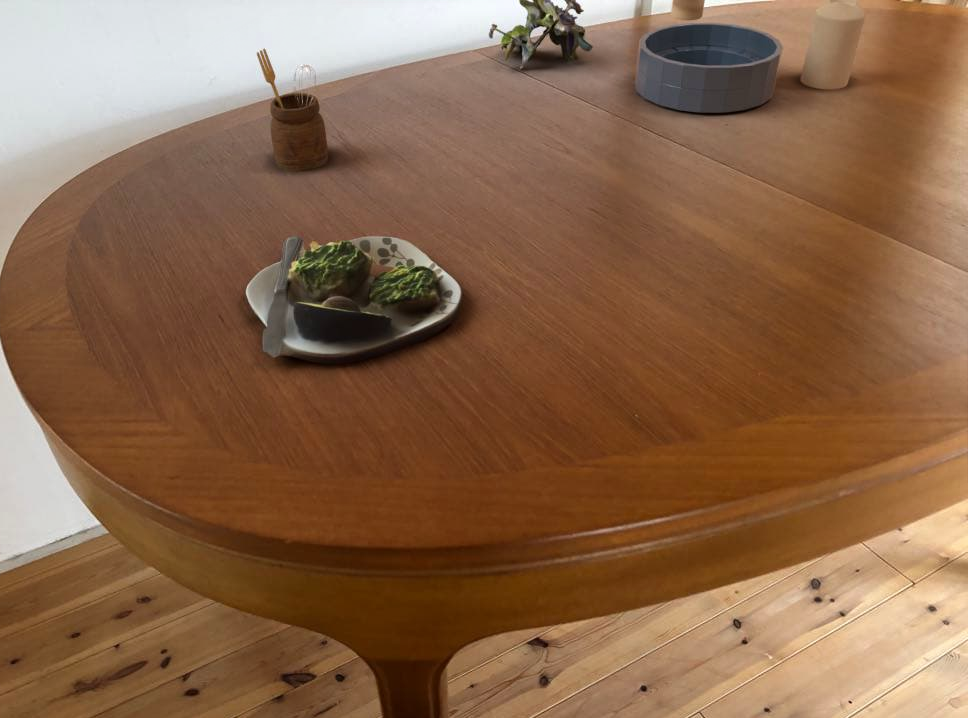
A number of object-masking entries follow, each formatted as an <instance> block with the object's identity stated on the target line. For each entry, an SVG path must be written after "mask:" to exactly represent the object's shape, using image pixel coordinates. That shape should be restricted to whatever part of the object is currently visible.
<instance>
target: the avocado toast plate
mask: <svg viewBox="0 0 968 718" xmlns="http://www.w3.org/2000/svg"><path fill="white" fill-rule="evenodd" d="M304 243H305V242H304V240H303V238H302V237H300V236H296V235H294V236H289V237H287V238H286V239H285V240H284V242H283V245H282V254H281V259H280V261H278V262H276V263H273V264H271V265H269V266H266V267H264V268H263V269H261V270H260V271H259V272H258V273H257V274H256V275H255V276H254V277H253V278H252V279H251V280H250V281H249V283H248V284H247V287H246V289H245V295H246V298H247V301H248V303H249V306H250V307H251V309H252V311H253V312H254V314H255V315H256V316H257V317H258V319H259V320H260V321H261V322H262V323H263V325H264V327H265V328H264V329H263V331H262V351H263V352H264V353H265V354H267V355H269V356H270V357H272V358H276V357H280V356H285V357H293V358H296V359H300V360H302V361H306V362H309V363H316V364H323V365H343V364H351V363H356V362H360V361H365V360H367V359H371V358H372V359H373V358H376V357H380V356H383V355H385V354H388V353H391V352H394V351H398V350H400V349H403V348H407V347H409V346H412V345H415V344H418V343H422V342H423V341H426V340H427V339H430V338H431V337H433V336H435V335H436V334H438V333H439V332H441V331H443V330H444V329H445V328H446V327H447V326H449V325H450V324H451V323H452V322H453V321H454V320H455V318H456V316H457V315H458V313H459V311H460V309H461V306H462V300H463V291H462V287H461V286H460V284H459V282H457V281H456V280H455V279H454V278H453V277H452V276H451V275H450V274H449V273H448V272H446V271H445V270H444V269H443V268H441V267H440V266H438V264H437V263H436V262H435V261H433V260H431V258H429V256H428V255H427V254H426V253H424V252H423V251H421V249H420V248H418V247H417V246H415V245H414V244H413V243H411V242H409V241H407V240H404V239H401V238H397V237H390V236H363V237H358V238H354V239H350V240H340V241H339V242H331V241H330V242H328V243H327V244H323V245H319V244H318V242H317V240H312V241H309V243H308V244H309V246H310V249H311V250H308V249H305V245H304ZM373 265H377V266H378V265H379V266H384V267H388V268H393V269H391V270H390V271H387V270H384V271H382V272H380V274H379V273H378V275H377V276H374V275H372V274H371V269H372V266H373ZM410 325H411V326H410Z"/></svg>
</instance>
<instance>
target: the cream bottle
mask: <svg viewBox="0 0 968 718" xmlns="http://www.w3.org/2000/svg"><path fill="white" fill-rule="evenodd" d="M865 19H866V11H865V10H864V9H863V7H862V6H861V5H860V4H859V2H858V1H857V0H826V1H825V2H824V3H823V4H822V5H820V6H819V7H818V8H816V10H815V12H814V17H813V22H812V27H811V31H810V35H809V40H808V45H807V49H806V52H805V57H804V62H803V66H802V69H801V75H800V82H801V83H802V84H803V85H804V86H807V87H810V88H814V89H817V90H819V89H820V90H838V89H843V88H845V87H846V86H848V84H849V80H850V77H851V73H852V69H853V65H854V61H855V57H856V55H857V54H856V53H857V49H858V46H859V42H860V38H861V34H862V30H863V26H864V22H865Z"/></svg>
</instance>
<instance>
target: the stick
mask: <svg viewBox="0 0 968 718" xmlns="http://www.w3.org/2000/svg"><path fill="white" fill-rule="evenodd" d="M705 1H706V0H672V3H671V9H670V10H671V11H670V17H671V18H673V19H674V20H677V21H696V20H700V19H701V18H703V14H704V8H705Z"/></svg>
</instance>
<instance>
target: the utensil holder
mask: <svg viewBox="0 0 968 718" xmlns="http://www.w3.org/2000/svg"><path fill="white" fill-rule="evenodd" d="M256 56H257V59H258V62H259V64H260V68H261V71H262V75H263V77H264V80H265V81H266V83H268V84H270V85H271V88H272V91H273V94H274V96H275V98H273V100H272V101H271V102H270V107H269V108H270V109H269V110H270V115H271V117H272V118H271V120H270V124H269V125H270V127H269V128H270V137H271V143H272V144H271V145H272V149H273V156H274V160H275V163H276V166H278V167H279V168H280V169H282V170H284V171H289V172H304V171H305V172H306V171H310V170H314V169H317V168H320V167H321V166H323V165H325V164H326V163H327V162H328V160H329V149H328V148H329V147H328V140H327V134H326V133H327V132H326V125H325V120H324V118H323V116H322V114H321V113H320V110H321V109H320V108H321V107H320V103H319V99H318V98H317V96H315V93H316V86H317V84H316V82H317V76H316V75H317V74H316V71H315V69H314V68H313V67H312V66H310V65H309V64H300V65H299V67H297V68H296V69H295V72H294V75H293V80H296V78H297V77H296V76H297V71H298V70H299V69H300V68H301V71H300V73H299V77H302V73H303V70H304V68H305V69H306V70H308V69H310V70H309V72H308V71H306V76H309V79H311V73H312V72H313V73H312V74H313V79H314V82H313V83H314V85H313V86H314V87H313V94H310V93H309V92H310V90H311V86H308V89H307V91H306V93H304V92H297V90H296V87H294V91H293V93H286V94H282V95H280V94H279V92H278V89H277V85H276V84H275V81H276V74H275V70H274V68H273V65H272V63H271V61H270V58H269V55H268V52H267V50H266V48H265V47H263V48H262V50H261V49H260V50H259V51H257V52H256ZM307 68H308V69H307ZM300 84H301V86H300ZM298 87H301V88H303V82H301V78H299V81H298Z"/></svg>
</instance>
